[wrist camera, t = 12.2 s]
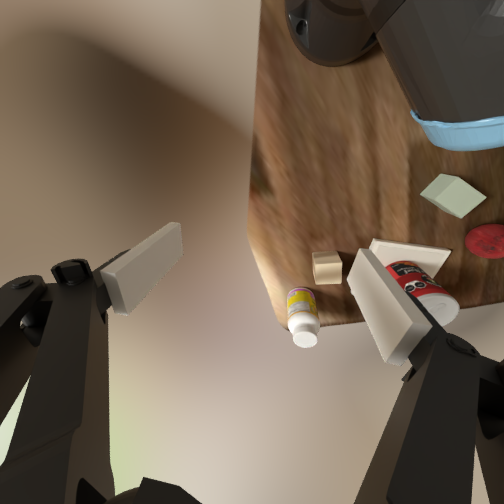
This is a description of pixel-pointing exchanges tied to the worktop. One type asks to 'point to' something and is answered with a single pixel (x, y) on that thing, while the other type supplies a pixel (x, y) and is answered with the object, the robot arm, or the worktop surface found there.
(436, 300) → the canned food
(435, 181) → the sage block
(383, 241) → the tray
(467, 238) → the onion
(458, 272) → the worktop surface
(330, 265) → the beech block
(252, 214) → the worktop surface
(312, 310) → the supplement bottle
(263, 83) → the worktop surface
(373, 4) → the robot arm
